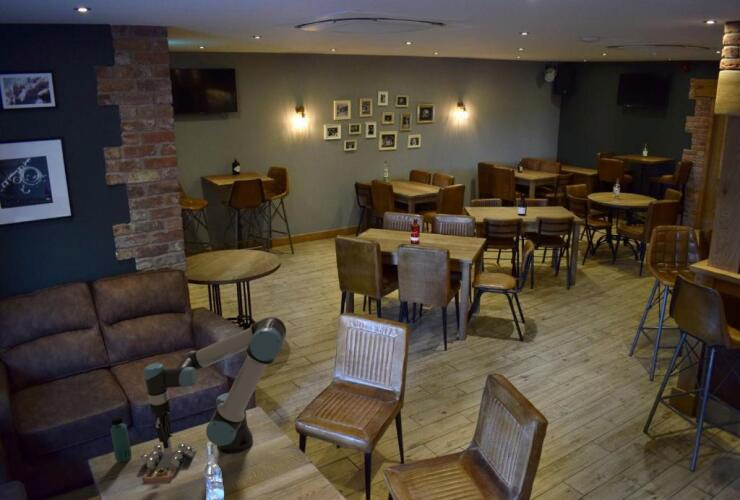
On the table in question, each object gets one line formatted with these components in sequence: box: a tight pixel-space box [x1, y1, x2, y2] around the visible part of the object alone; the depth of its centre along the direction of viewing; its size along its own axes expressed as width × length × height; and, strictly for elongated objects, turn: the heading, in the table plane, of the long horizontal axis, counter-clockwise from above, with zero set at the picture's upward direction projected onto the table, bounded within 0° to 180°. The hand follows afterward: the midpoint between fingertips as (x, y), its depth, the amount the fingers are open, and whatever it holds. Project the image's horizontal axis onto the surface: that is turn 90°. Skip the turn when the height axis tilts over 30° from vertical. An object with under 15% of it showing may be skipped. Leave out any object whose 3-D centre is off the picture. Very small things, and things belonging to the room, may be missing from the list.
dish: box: [142, 467, 177, 483], centre depth 230 cm, size 11×6×3 cm, turn 91°
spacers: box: [140, 443, 194, 473], centre depth 238 cm, size 19×12×5 cm, turn 91°
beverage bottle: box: [110, 415, 132, 463], centre depth 241 cm, size 6×7×20 cm
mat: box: [138, 450, 198, 473], centre depth 240 cm, size 20×13×1 cm, turn 91°
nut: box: [154, 468, 168, 477], centre depth 230 cm, size 4×5×3 cm
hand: (168, 453), depth 238 cm, fingers closed
